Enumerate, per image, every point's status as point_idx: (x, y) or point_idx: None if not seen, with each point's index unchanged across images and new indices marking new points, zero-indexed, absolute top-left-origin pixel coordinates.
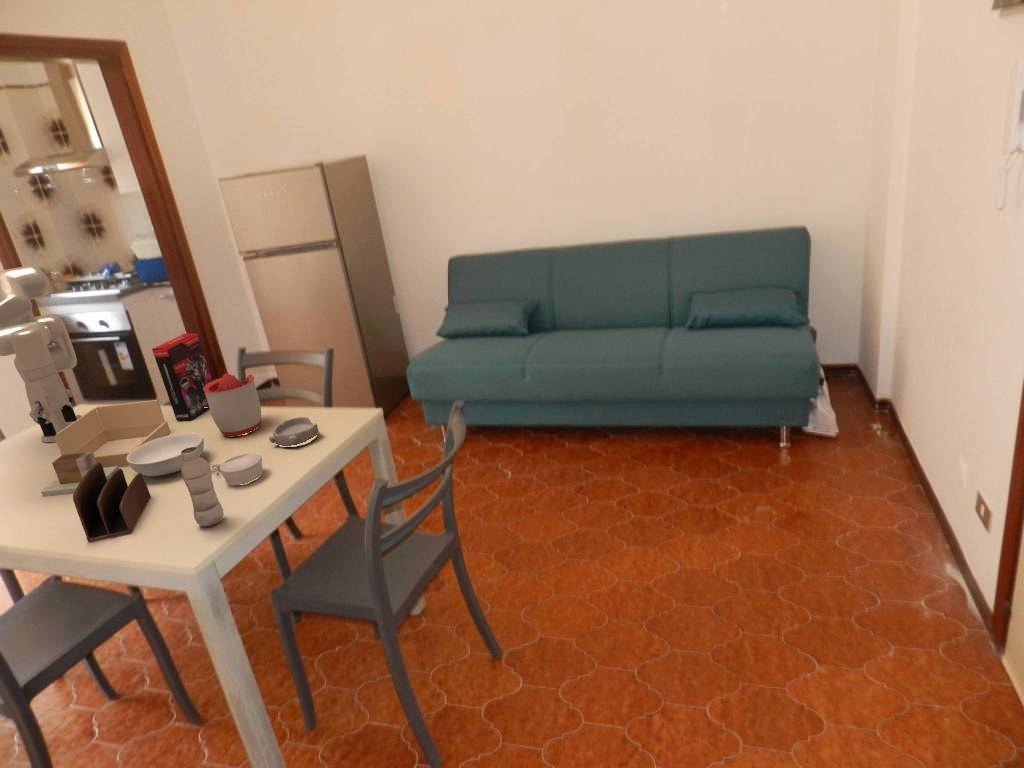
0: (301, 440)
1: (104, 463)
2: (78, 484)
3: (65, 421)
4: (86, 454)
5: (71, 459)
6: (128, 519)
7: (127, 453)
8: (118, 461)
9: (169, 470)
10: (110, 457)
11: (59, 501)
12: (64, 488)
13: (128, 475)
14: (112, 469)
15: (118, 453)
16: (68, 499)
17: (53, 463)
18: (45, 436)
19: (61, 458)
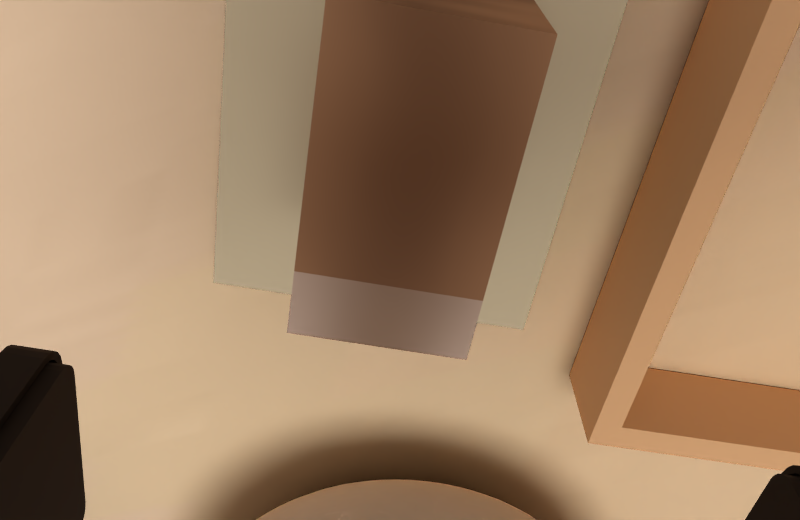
0: None
1: (649, 210)
2: (284, 136)
3: (785, 480)
4: (409, 328)
5: (332, 218)
6: None
7: (595, 425)
8: (611, 314)
9: None
10: (639, 295)
11: (103, 28)
12: (241, 34)
13: (398, 384)
14: None
15: (646, 361)
16: (123, 95)
17: (328, 5)
18: (13, 358)
19: (428, 71)
